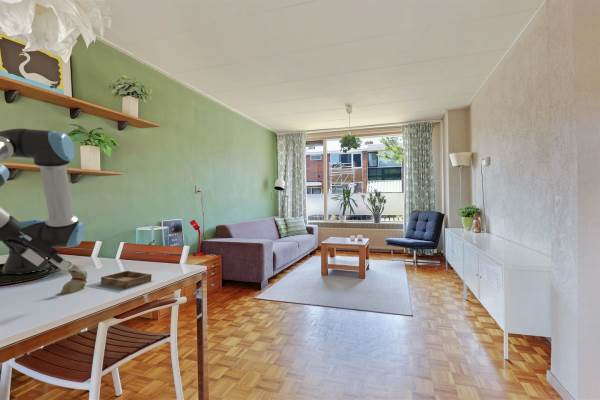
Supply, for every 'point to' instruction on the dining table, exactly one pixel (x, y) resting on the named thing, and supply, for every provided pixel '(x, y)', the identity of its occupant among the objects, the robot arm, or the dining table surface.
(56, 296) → the dining table surface
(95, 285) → the mat
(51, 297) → the dining table surface
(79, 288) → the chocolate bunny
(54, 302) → the dining table surface
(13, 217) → the robot arm
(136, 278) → the brown wooden tray
